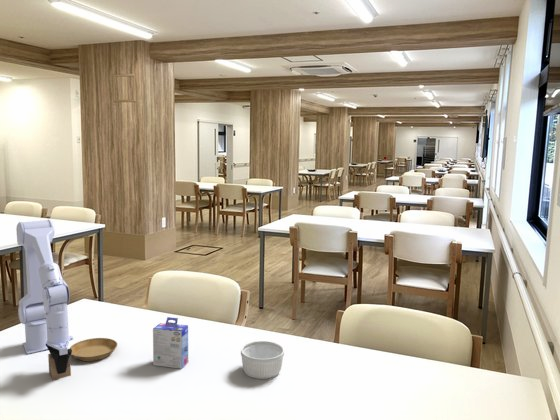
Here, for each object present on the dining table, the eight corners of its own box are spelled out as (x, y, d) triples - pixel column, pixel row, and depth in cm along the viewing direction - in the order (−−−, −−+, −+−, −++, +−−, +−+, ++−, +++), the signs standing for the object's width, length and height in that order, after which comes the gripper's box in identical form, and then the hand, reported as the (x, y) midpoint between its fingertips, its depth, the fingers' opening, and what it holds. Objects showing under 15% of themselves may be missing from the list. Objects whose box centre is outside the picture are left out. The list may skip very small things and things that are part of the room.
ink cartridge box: (189, 361, 149) (189, 317, 147) (182, 369, 144) (181, 324, 142) (160, 358, 151) (159, 315, 149) (152, 365, 146) (151, 321, 144)
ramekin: (290, 366, 147) (291, 345, 146) (272, 385, 135) (272, 362, 134) (253, 358, 152) (253, 337, 151) (232, 375, 141) (232, 353, 140)
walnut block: (49, 373, 140) (48, 354, 139) (67, 368, 143) (66, 350, 142) (52, 380, 136) (51, 360, 135) (70, 375, 139) (70, 356, 138)
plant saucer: (100, 341, 164) (100, 334, 164) (126, 352, 156) (126, 345, 155) (60, 355, 152) (59, 348, 152) (86, 369, 144) (85, 360, 143)
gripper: (77, 330, 134) (79, 375, 136) (66, 315, 146) (68, 356, 148) (50, 335, 130) (53, 382, 132) (41, 319, 142) (43, 362, 143)
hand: (59, 369), depth 139 cm, fingers closed on walnut block, 5 cm apart
